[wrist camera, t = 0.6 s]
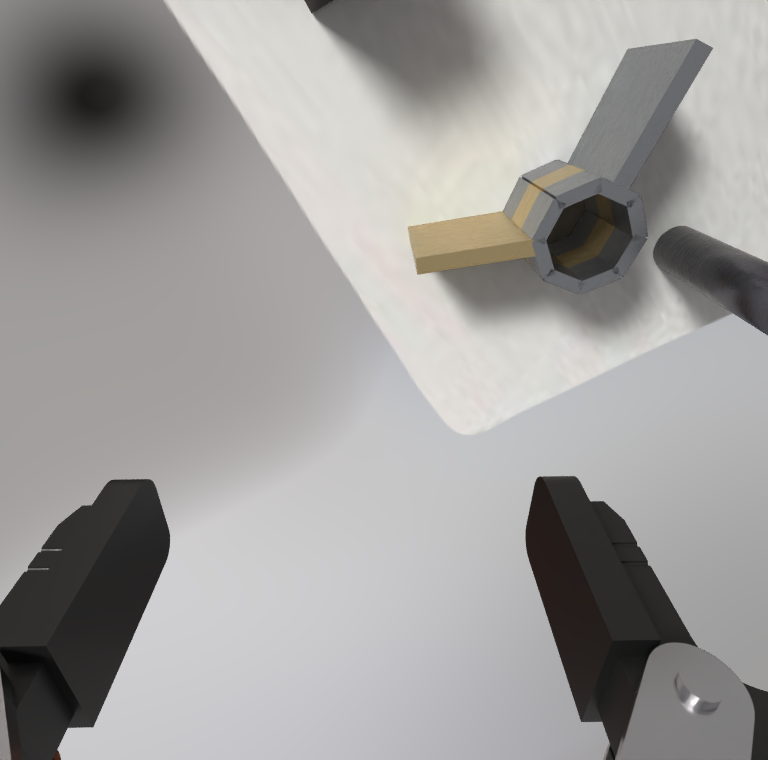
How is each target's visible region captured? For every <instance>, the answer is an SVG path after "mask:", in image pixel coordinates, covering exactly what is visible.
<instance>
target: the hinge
mask: <svg viewBox="0 0 768 760" xmlns="http://www.w3.org/2000/svg"><path fill="white" fill-rule="evenodd" d="M712 49H713V48H712V47H710V46H708V45H707V44H705V43H703V42H701V41H699V40H697V39H692V40H686V41H679V42H672V43H665V44H659V45H652V46H645V47H638V48H632V49H628V50H627V52H626V54H625V56H624V57H623V59H622V61H621V63H620V65H619V67H618V69H617V71H616V73H615V75H614V76H613V78H612V80H611V82H610V84H609V86H608V88H607V90H606V92H605V94H604V95H603V97H602V99H601V101H600V103H599V105H598V107H597V109H596V111H595V113H594V114H593V116H592V118H591V120H590V122H589V124H588V126H587V128H586V130H585V132H584V133H583V135H582V137H581V139H580V141H579V143H578V145H577V147H576V149H575V151H574V152H573V154H572V156H571V158H570V160H569V162H568V163H565V162H563V161H560V160H555V161H552V162H550V163H548V164H546V165H544V166H541V167H539V168H537V169H535V170H532V171H530V172H528V173H526V174H524V175H521V176H522V178H520V177H519V180H518V182H517V184H516V186H515V188H514V190H513V192H512V194H511V196H510V198H509V200H508V202H507V204H506V206H505V208H504V210H503V212H497V213H491V214H484V215H478V216H472V217H466V218H460V219H454V220H447V221H441V222H435V223H429V224H423V225H417V226H410V227H408V230H409V238H410V243H411V248H412V252H413V257H414V261H415V266H416V270H417V275H418V274H424V273H431V272H437V271H444V270H450V269H457V268H463V267H469V266H476V265H482V264H489V263H495V262H501V261H508V260H514V259H521V258H524V259H525V260H526V261H527V262H528V263H529V264H530V265H531V267H532V268H533V269H534V270H535V271H536V272H537V274H538V275H539V276H540V277H541V278H542V279H543V280H544V281H546V282H548V283H551V284H553V285H556V286H558V287H561V288H564V289H566V290H569V291H571V292H574V293H576V294H579V293H580V294H583V293H585V292H588V291H590V290H593V289H595V288H598V287H601V286H603V285H606V284H608V283H611V282H613V281H616V280H618V279H621V278H620V276H622V277H623V276H624V274H625V273H626V271H627V270H628V268H629V267H630V265H631V263H632V262H633V260H634V259H635V257H636V256H637V254H638V253H639V251H640V249H641V248H642V246H643V245H644V243H645V242H646V240H647V238H645V237H647V236H648V234H647V228H646V222H645V216H644V210H643V205H642V199H641V196H640V195H639V194H638V193H636V192H634V191H632V190H630V189H629V188H630V186H631V185H632V183H633V181H634V180H635V178H636V176H637V175H638V173H639V171H640V170H641V168H642V166H643V165H644V163H645V161H646V160H647V158H648V156H649V155H650V153H651V151H652V150H653V148H654V146H655V144H656V143H657V141H658V139H659V138H660V136H661V134H662V133H663V131H664V129H665V128H666V126H667V124H668V123H669V121H670V119H671V118H672V116H673V114H674V113H675V111H676V109H677V108H678V106H679V104H680V103H681V101H682V99H683V98H684V96H685V94H686V93H687V91H688V89H689V88H690V86H691V84H692V82H693V81H694V79H695V77H696V76H697V74H698V72H699V71H700V69H701V67H702V66H703V64H704V62H705V61H706V59H707V57H708V56H709V54H710V52H711V51H712ZM582 200H583V201H584V205H585V212H584V214H583V216H582V217H581V219H580V221H579V223H578V224H577V226H576V228H575V230H574V231H573V233H572V235H571V236H569V237H567V238H564V239H562V240H560V241H557V242H555V243H552V244H550V245H547V241H546V240H547V238H548V236H549V234H550V233H551V231H552V229H553V227H554V225H555V223H556V222H557V220H558V218H559V216H560V214H561V212H562V211H563V209H564V208H566V207H568V206H570V205H573V204H575V203H577V202H580V201H582Z"/></svg>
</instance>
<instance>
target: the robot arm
mask: <svg viewBox="0 0 768 760" xmlns="http://www.w3.org/2000/svg"><path fill="white" fill-rule="evenodd" d="M169 547H170V533H169V529H168V525H167V522H166V519H165V515H164V512H163V509H162V506H161V503H160V499H159V496H158V493H157V490H156V487H155V484H154V483H153V481H151V480H149V479H136V480H135V479H132V480H111V481H109V482H108V483H107V484H106V485H105V487H104V488H103V490H102V491H101V493H100V494H99V495H98V497H97V499H96V500H95V501H94V503H93V504H92V506H81V507H80V508H79V509H78V510H76V511H75V512H74V513H72V514H71V515H70V516H69V517H68V518H66V519H65V520H64V521H63V522H61V523H60V524H59V525H58V526H57V527H56V529H55V530H54V531H53V533H52V534H51V535H50V537H49V538H48V540H47V541H46V543H45V544H44V545H43V547H42V551H41V552H39V553H38V554H37V555H36V556H35V558H34V559H33V561H32V562H31V563H30V565H29V566H28V571H27V572H24V573H23V574H22V576H21V577H20V578H19V580H18V581H17V583H16V584H15V586H14V587H13V588H12V589H11V591H10V592H9V594H8V595H7V596H6V598H5V599H4V601H3V602H2V603H1V605H0V760H61V757H60V754H59V751H58V750H57V749H58V747H59V745H60V743H61V740H62V738H63V736H64V734H65V732H66V730H67V728H76V727H93V726H94V724H95V722H96V720H97V717H98V715H99V713H100V711H101V708H102V706H103V704H104V701H105V699H106V697H107V695H108V692H109V690H110V688H111V685H112V683H113V681H114V679H115V676H116V674H117V672H118V670H119V667H120V665H121V663H122V661H123V658H124V656H125V654H126V652H127V649H128V647H129V644H130V642H131V640H132V638H133V636H134V633H135V631H136V629H137V626H138V624H139V622H140V620H141V617H142V615H143V613H144V610H145V608H146V606H147V604H148V602H149V599H150V597H151V595H152V592H153V590H154V588H155V585H156V583H157V581H158V579H159V577H160V574H161V572H162V570H163V567H164V565H165V563H166V560H167V557H168V553H169ZM526 547H527V548H526V549H527V554H528V558H529V561H530V564H531V567H532V571H533V574H534V577H535V580H536V583H537V586H538V589H539V592H540V596H541V598H542V602H543V604H544V608H545V611H546V614H547V617H548V620H549V623H550V626H551V630H552V633H553V636H554V639H555V642H556V645H557V648H558V651H559V654H560V658H561V661H562V664H563V667H564V670H565V673H566V676H567V679H568V682H569V685H570V688H571V692H572V695H573V698H574V701H575V704H576V707H577V710H578V713H579V716H580V719H581V722H603V725H604V728H605V731H606V733H607V736H608V739H609V745H608V747H607V749H606V753H605V756H604V759H603V760H768V692H767V691H763V690H760V689H757V688H754V687H751V686H749V685H746V684H744V683H742V681H741V680H740V679H739V678H738V676H737V675H736V674H735V673H734V672H733V671H732V670H731V669H730V668H729V667H728V666H727V665H726V664H725V663H723V662H722V661H721V660H719V659H718V658H716V657H715V656H714V655H712V654H710V653H709V652H707V651H705V650H703V649H701V648H698V647H697V645H696V644H695V642H694V641H693V639H692V638H691V636H690V634H689V632H688V631H687V629H686V627H685V625H684V624H683V622H682V620H681V618H680V617H679V615H678V613H677V611H676V610H675V608H674V606H673V605H672V603H671V601H670V599H669V597H668V596H667V594H666V592H665V590H664V589H663V587H662V585H661V584H660V582H659V580H658V578H657V577H656V575H655V573H654V571H653V570H652V568H651V567H650V566H648V561H647V559H646V557H645V555H644V554H643V552H642V550H641V548H640V547H638V546H637V542H636V540H635V538H634V536H633V534H632V533H631V531H630V529H629V527H628V526H627V524H626V522H625V520H624V519H622V518H621V517H620V516H619V515H618V514H617V513H616V512H615V511H614V510H612V509H611V508H610V507H609V506H608V505H607V504H606V503H605V502H604V501H598V502H596V501H594V502H590V500H589V499H588V497H587V495H586V493H585V491H584V489H583V487H582V485H581V483H580V481H579V480H578V478H576V477H575V476H558V477H557V476H556V477H555V476H553V477H538V478H537V479H536V482H535V486H534V491H533V496H532V501H531V506H530V511H529V516H528V521H527V525H526Z"/></svg>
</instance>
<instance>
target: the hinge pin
mask: <svg viewBox="0 0 768 760" xmlns="http://www.w3.org/2000/svg"><path fill="white" fill-rule="evenodd" d="M653 256H654V260H655V262H656V264H657V265H658V266H659V267H661V268H662V269H664V270H665V271H667V272H669V273H670V274H672V275H673V276H675V277H676V278H678V279H680V280H681V281H683V282H684V283H686V284H688V285H689V286H691V287H692V288H694V289H695V290H697V291H699V292H700V293H702V294H703V295H705V296H706V297H708V298H710V299H711V300H713V301H714V302H716V303H718V304H719V305H721V306H722V307H724V308H725V309H727V310H729V311H730V312H732V313H733V314H735V315H737V316H738V317H740V318H741V319H743V320H744V321H746V322H748V323H749V324H751V325H752V326H754V327H755V328H757V329H759V330H760V331H762V332H763V333H765V334H767V335H768V262H766V261H764V260H761V259H759V258H757V257H755V256H752V255H750V254H748V253H746V252H743V251H741V250H739V249H737V248H734V247H732V246H730V245H728V244H726V243H723V242H721V241H719V240H717V239H714V238H712V237H710V236H708V235H705V234H703V233H701V232H699V231H697V230H694V229H692V228H690V227H686V226H678V227H674V228H672V229H670V230H668V231H667V232H665V233H664V234H663V235H662V236H661V237H660V238H659V240H658V241H657V243H656V245H655V247H654V252H653Z"/></svg>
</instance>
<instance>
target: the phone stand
mask: <svg viewBox="0 0 768 760" xmlns="http://www.w3.org/2000/svg"><path fill="white" fill-rule="evenodd" d="M331 1H333V0H305V2H306V4H307V6H308V8H309V9H310V11H311V13H313V12H314V11H316V10H318V9H319V8H321V7H323V6H324V5H326V4H328V3H330V2H331Z"/></svg>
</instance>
